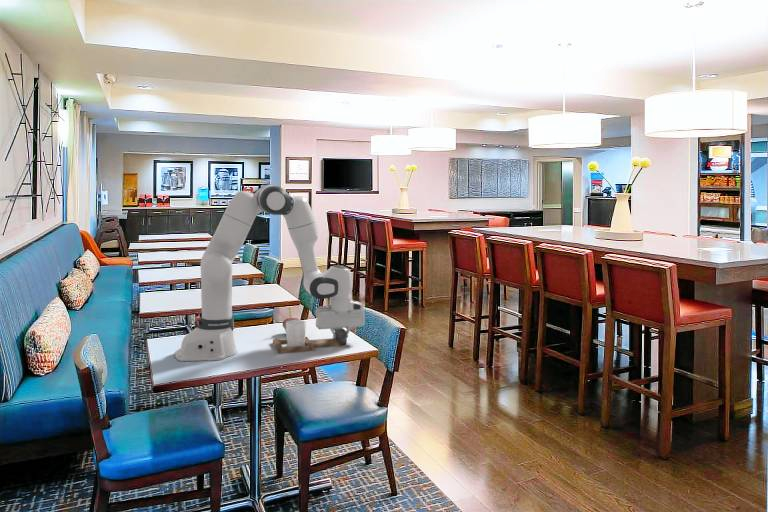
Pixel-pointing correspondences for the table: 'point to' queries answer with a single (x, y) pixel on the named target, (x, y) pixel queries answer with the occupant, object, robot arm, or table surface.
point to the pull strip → (313, 343)
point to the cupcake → (288, 319)
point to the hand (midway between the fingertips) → (340, 337)
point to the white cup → (295, 333)
